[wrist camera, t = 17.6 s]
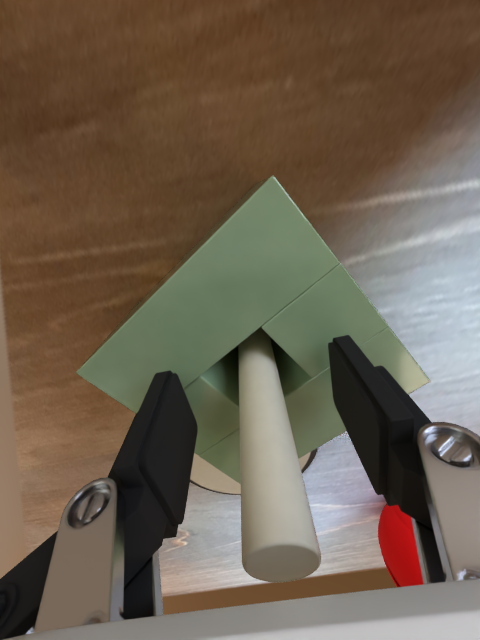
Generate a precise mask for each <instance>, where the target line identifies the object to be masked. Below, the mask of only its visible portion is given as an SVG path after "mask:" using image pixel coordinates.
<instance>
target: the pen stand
mask: <svg viewBox="0 0 480 640" xmlns="http://www.w3.org/2000/svg"><path fill="white" fill-rule="evenodd" d="M260 327H261V328H262V329H263V330H264V331H265V332H266V333H267V334H268V335H269V336H270V340H271V345H272V349H273V353H274V357H275V362H276V366H277V370H278V374H279V379H280V383H281V387H282V391H283V396H284V400H285V404H286V408H287V413H288V417H289V421H290V425H291V430H292V434H293V438H294V442H295V447H296V451H297V455H298V459H299V458H301V457H303V456H304V455H306V454H308V453H309V452H311V451H313V450H315V449H316V448H318V447H320V446H321V445H323V444H325V443H326V442H328V441H330V440H332V439H333V438H335V437H337V436H338V435H340V434H342V433H343V432H345V431H347V430H346V428H345V426H344V424H343V422H342V419H341V417H340V415H339V413H338V411H337V409H336V406H335V404H334V400H333V392H332V382H331V371H330V361H329V350H328V343H330V342H333V338H335V337H340V336H345V335H349V336H350V337H351V338H352V339H353V340H354V342H355V343H356V344H357V345H358V347H359V348H360V349H361V350H362V352H363V353H364V354H365V355H366V357H367V358H368V359H369V360H370V362H371V363H372V364H373V365H374V367H375V366H380V365H381V366H383V367H384V368H386V369H387V371H388V372H389V373H390V374H391V375H392V376H393V378H394V379H395V380H396V381H397V382H398V384H399V385H400V386H401V387H402V388H403V389H404V391H405V392H406V393H407V394H410V393H412V392H413V391H415V390H417V389H418V388H420V387H422V386H423V385H425V384H427V383H429V382H430V379H429V378H428V377H427V376H426V374H425V373H424V372H423V370H422V369H421V368H420V366H419V365H418V364H417V362H416V361H415V360H414V359H413V357H412V356H411V355H410V353H409V352H408V351H407V349H406V348H405V347H404V345H403V344H402V343H401V341H400V340H399V339H398V338H397V336H396V335H395V334H394V332H393V331H392V330H391V328H390V327H389V326H388V324H387V323H386V322H385V320H384V319H383V318H382V316H381V315H380V314H379V313H378V311H377V310H376V309H375V307H374V306H373V305H372V303H371V302H370V301H369V299H368V298H367V297H366V295H365V294H364V293H363V292H362V290H361V289H360V288H359V286H358V285H357V284H356V282H355V281H354V280H353V278H352V277H351V276H350V275H349V273H348V272H347V271H346V269H345V268H344V267H343V265H342V264H341V263H339V260H338V259H337V258H336V256H335V255H334V254H333V252H332V251H331V250H330V248H329V247H328V246H327V245H326V243H325V242H324V241H323V239H322V238H321V237H320V235H319V234H318V233H317V231H316V230H315V229H314V227H313V226H312V225H311V224H310V222H309V221H308V220H307V218H306V217H305V216H304V214H303V213H302V212H301V210H300V209H299V208H298V206H297V205H296V204H295V203H294V201H293V200H292V199H291V197H290V196H289V195H288V193H287V192H286V191H285V189H284V188H283V187H282V185H281V184H280V183H279V182H278V180H277V179H276V178H275V177H274V176H271V177H269V178H266V179H264V180H262V181H260V182H258V183H256V184H255V185H254V186H253V187H252V188H251V189H250V190H249V191H248V192H247V193H246V194H245V195H244V196H243V197H242V198H241V199H240V200H239V201H238V202H237V203H236V204H235V205H234V206H233V207H232V208H231V209H230V210H229V211H228V212H227V213H226V214H225V215H224V216H223V217H222V218H221V220H220V221H219V222H218V223H217V224H216V225H215V226H214V227H213V228H212V229H211V230H210V231H209V232H208V233H207V234H206V235H205V236H204V237H203V238H202V239H201V240H200V241H199V242H198V243H197V244H196V245H195V246H194V247H193V248H192V249H191V250H190V251H189V252H188V253H187V254H186V255H185V256H184V257H183V258H182V259H181V260H180V261H179V262H178V263H177V264H176V265H175V266H174V267H173V268H172V269H171V270H170V271H169V272H168V273H167V274H166V275H165V276H164V277H163V278H162V279H161V280H160V281H159V282H158V283H157V284H156V285H155V286H154V287H153V288H152V289H151V290H150V292H149V293H148V294H147V295H146V296H145V297H144V298H143V299H142V300H141V301H140V302H139V303H138V304H137V305H136V306H135V307H134V308H133V309H132V310H131V311H130V312H129V313H128V314H127V315H126V316H125V317H124V319H123V320H122V321H121V322H120V323H119V324H118V325H117V326H116V328H115V329H114V330H113V331H112V332H111V333H110V334H109V335H108V337H107V338H106V339H105V340H104V341H103V342H102V343H101V344H100V346H99V347H98V348H97V349H96V350H95V351H94V352H93V353H92V355H91V356H90V357H89V358H88V359H87V360H86V361H85V362H84V364H83V365H82V366H81V367H80V368H79V369H78V370H77V372H76V373H77V374H78V375H79V376H81V377H82V378H84V379H85V380H87V381H88V382H90V383H91V384H93V385H94V386H96V387H97V388H99V389H100V390H102V391H103V392H105V393H106V394H108V395H109V396H110V397H112V398H113V399H115V400H116V401H118V402H119V403H121V404H122V405H124V406H125V407H127V408H128V409H130V410H131V411H133V412H134V413H136V414H137V412H138V411H139V409H140V407H141V404H142V402H143V400H144V398H145V395H146V393H147V391H148V389H149V386H150V384H151V382H152V380H153V377H154V375H155V374H156V373H159V372H164V371H169V370H170V371H172V372H173V373H177V375H178V377H179V379H180V382H181V384H182V387H183V389H184V392H185V394H186V397H187V399H188V402H189V404H190V407H191V409H192V411H193V414H194V416H195V419H196V421H197V426H198V432H197V439H196V445H195V451H194V453H195V454H197V455H199V457H201V458H202V459H204V460H205V461H207V462H208V463H210V464H211V465H213V466H214V467H216V468H217V469H219V470H220V471H221V472H223V473H224V474H226V475H227V476H229V477H230V478H232V479H233V480H235V481H236V482H238V483H239V484H241V474H240V415H239V357H238V345H239V344H240V343H241V342H242V341H244V340H245V339H246V338H247V337H249V336H250V335H251V334H252V333H253V332H255V331H256V330H257V329H258V328H260Z"/></svg>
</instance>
